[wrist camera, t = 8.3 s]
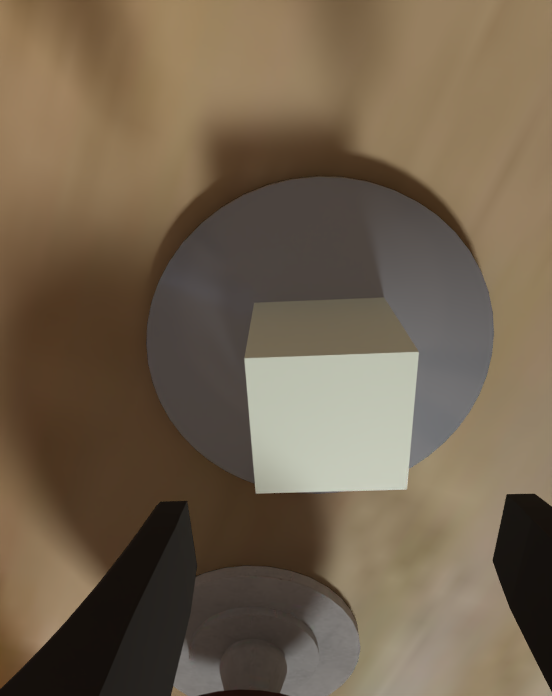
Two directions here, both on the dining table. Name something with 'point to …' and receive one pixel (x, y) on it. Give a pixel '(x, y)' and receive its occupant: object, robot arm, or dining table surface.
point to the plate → (315, 284)
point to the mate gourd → (266, 636)
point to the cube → (330, 396)
